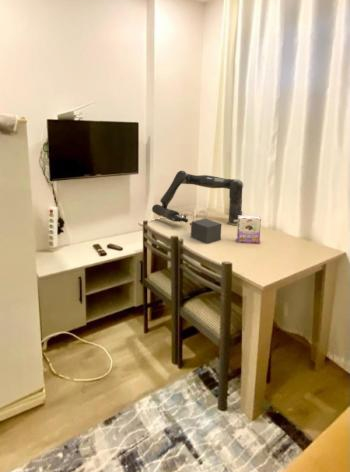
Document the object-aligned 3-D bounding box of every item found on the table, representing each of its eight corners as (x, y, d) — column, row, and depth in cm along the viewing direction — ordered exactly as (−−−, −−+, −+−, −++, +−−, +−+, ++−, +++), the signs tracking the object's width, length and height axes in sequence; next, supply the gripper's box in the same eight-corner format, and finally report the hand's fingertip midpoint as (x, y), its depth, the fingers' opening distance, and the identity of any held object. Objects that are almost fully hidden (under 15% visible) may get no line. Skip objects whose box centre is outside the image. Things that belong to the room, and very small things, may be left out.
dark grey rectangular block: (191, 237, 212) (191, 221, 210) (204, 233, 220) (205, 218, 218) (206, 243, 201) (207, 227, 199) (220, 239, 209) (221, 223, 207)
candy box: (258, 240, 209) (259, 215, 206) (259, 243, 203) (261, 218, 200) (236, 239, 210) (237, 214, 207) (237, 242, 204) (238, 217, 201)
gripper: (164, 211, 232) (180, 217, 219) (178, 208, 240) (194, 214, 227) (164, 221, 233) (179, 227, 220) (178, 218, 242) (194, 224, 228)
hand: (187, 220), depth 224 cm, fingers closed
